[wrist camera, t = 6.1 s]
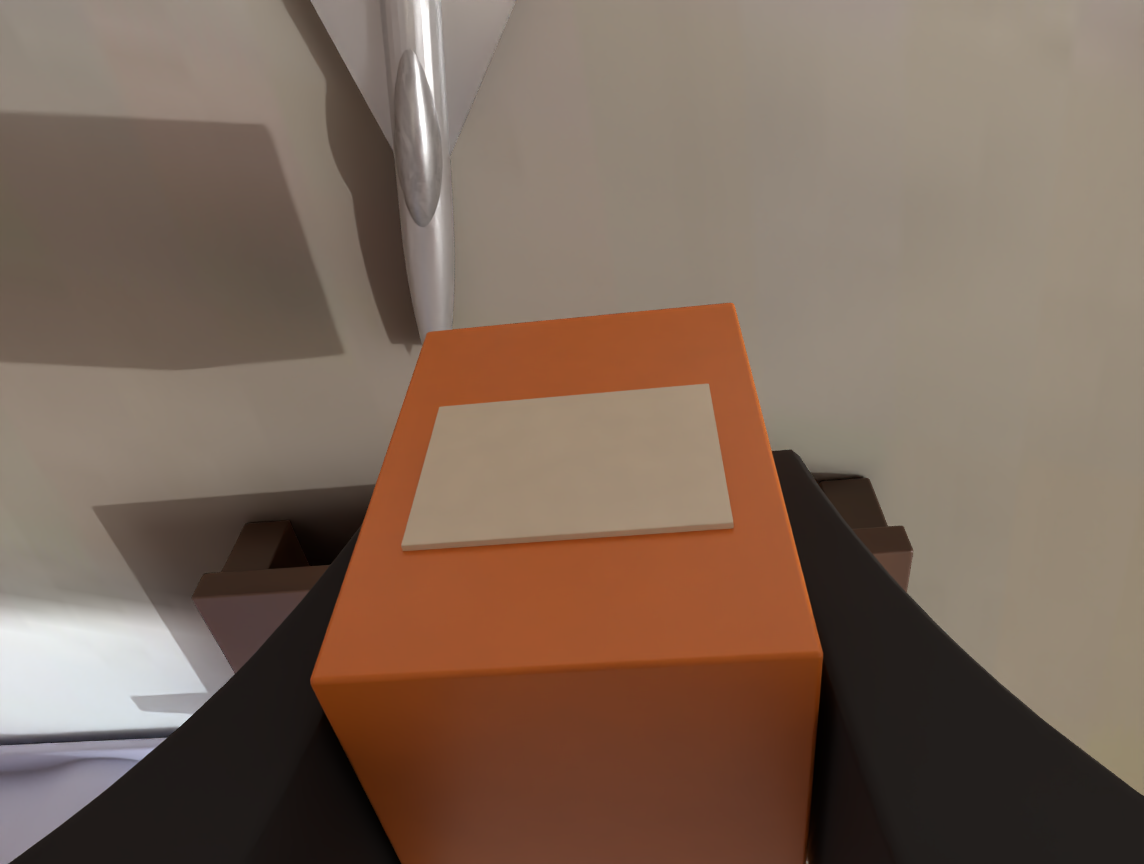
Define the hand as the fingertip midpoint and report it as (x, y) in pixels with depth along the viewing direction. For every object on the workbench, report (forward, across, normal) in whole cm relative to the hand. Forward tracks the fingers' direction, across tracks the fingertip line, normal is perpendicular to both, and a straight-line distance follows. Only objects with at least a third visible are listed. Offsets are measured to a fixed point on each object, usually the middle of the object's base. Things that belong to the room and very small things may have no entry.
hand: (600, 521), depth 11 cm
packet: (+1, 0, 0) cm, 1 cm away
